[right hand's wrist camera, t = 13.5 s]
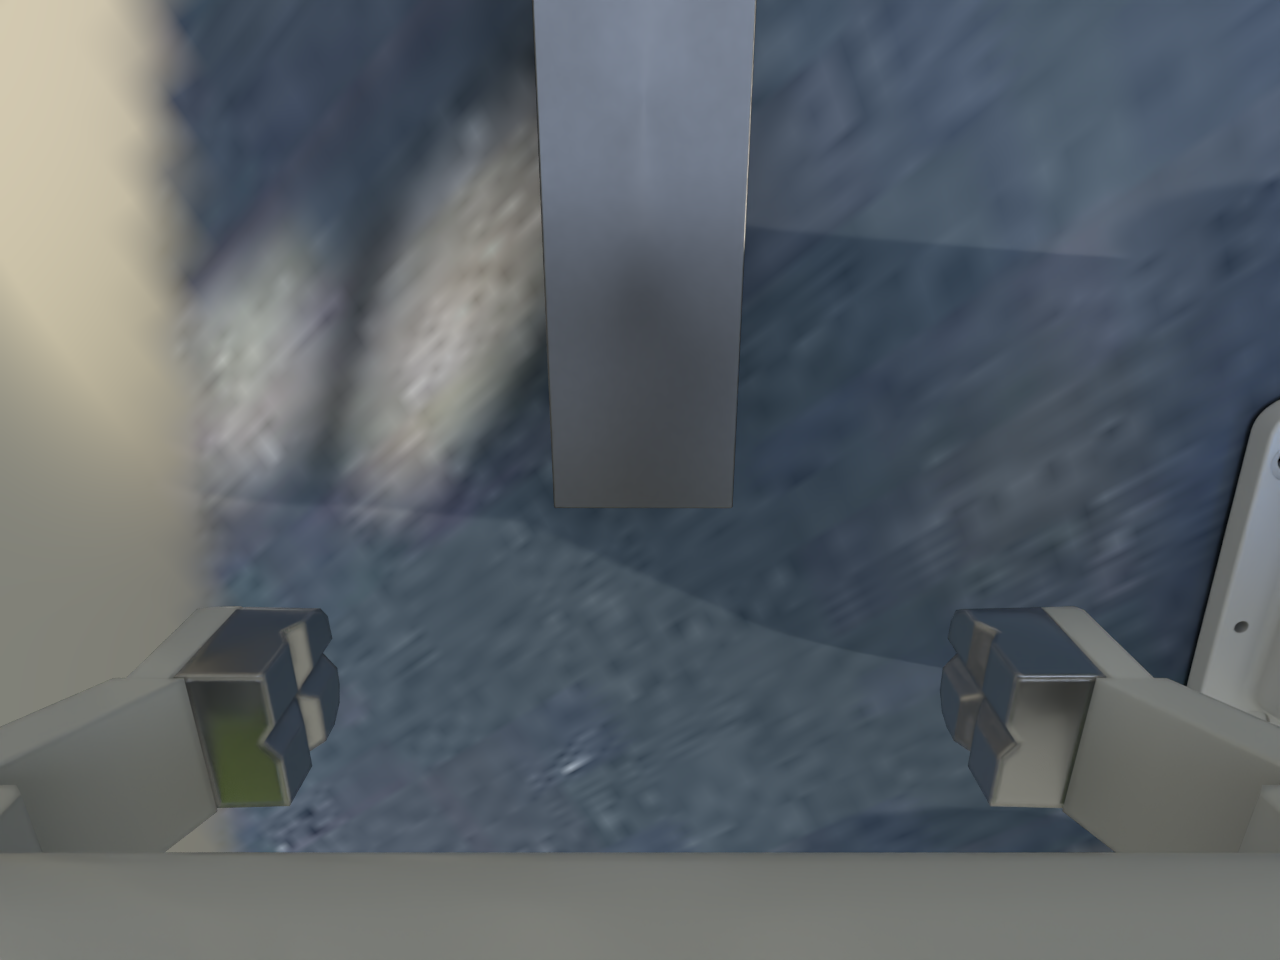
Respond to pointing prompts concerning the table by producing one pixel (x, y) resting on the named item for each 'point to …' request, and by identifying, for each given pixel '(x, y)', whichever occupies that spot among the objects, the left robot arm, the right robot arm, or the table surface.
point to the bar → (643, 244)
